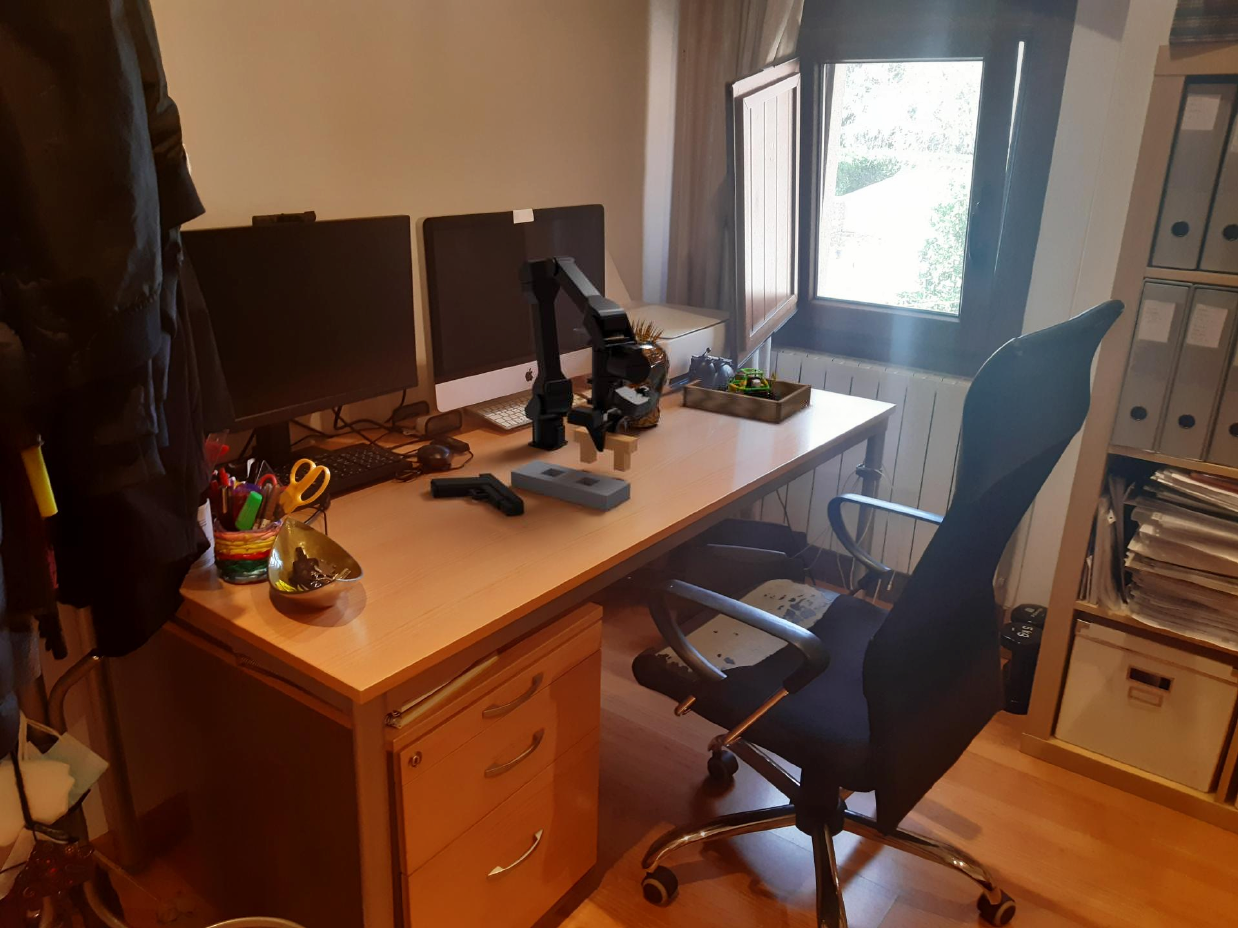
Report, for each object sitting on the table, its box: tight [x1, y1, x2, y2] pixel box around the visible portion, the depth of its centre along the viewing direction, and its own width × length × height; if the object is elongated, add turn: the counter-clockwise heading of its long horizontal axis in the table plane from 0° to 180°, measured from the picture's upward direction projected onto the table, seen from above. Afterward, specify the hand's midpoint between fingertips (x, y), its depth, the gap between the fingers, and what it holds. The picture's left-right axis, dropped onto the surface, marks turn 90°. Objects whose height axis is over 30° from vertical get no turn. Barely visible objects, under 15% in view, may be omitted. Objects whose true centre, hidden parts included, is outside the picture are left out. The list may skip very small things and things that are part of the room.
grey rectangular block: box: [510, 459, 631, 512], centre depth 173 cm, size 22×8×3 cm, turn 58°
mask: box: [620, 317, 671, 433], centre depth 211 cm, size 12×21×25 cm, turn 157°
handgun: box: [429, 472, 525, 517], centre depth 167 cm, size 3×19×12 cm
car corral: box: [682, 372, 812, 424], centre depth 231 cm, size 26×20×5 cm
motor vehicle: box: [718, 367, 781, 406], centre depth 229 cm, size 12×19×11 cm, turn 13°
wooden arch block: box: [573, 426, 638, 473], centre depth 181 cm, size 13×3×6 cm, turn 58°
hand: (605, 449), depth 181 cm, fingers closed on wooden arch block, 3 cm apart
